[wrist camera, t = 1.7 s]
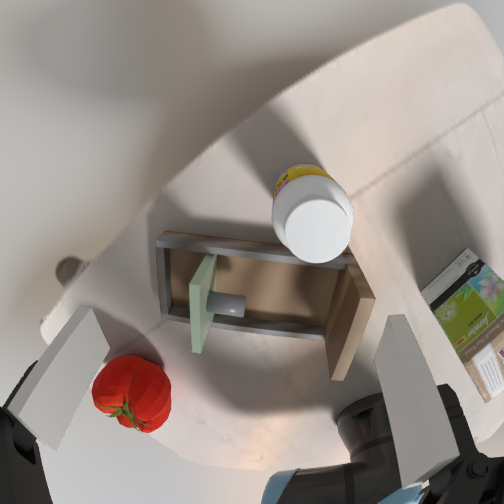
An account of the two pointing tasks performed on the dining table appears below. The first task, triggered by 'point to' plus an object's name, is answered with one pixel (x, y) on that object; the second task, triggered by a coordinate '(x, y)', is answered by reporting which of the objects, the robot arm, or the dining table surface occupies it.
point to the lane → (271, 291)
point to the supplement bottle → (311, 213)
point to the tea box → (472, 318)
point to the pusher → (209, 302)
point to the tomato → (133, 392)
